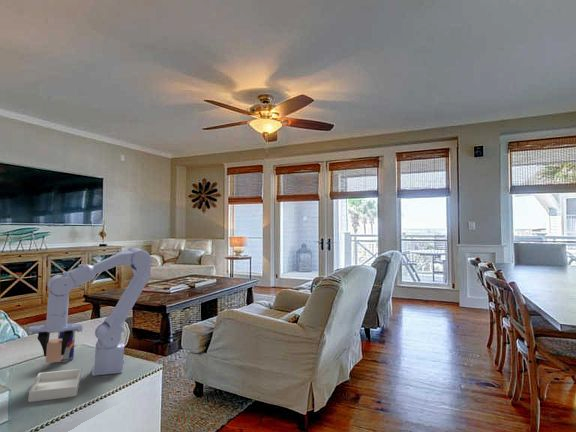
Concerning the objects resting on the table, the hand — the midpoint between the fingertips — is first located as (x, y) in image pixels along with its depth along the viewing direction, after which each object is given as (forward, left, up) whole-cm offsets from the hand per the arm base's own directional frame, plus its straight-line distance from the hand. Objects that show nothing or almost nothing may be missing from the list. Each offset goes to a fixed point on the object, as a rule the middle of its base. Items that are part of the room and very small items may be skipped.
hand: (54, 354), depth 113 cm
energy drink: (-1, -17, -9) cm, 19 cm away
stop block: (0, 0, -2) cm, 2 cm away
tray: (-2, +5, -9) cm, 11 cm away
